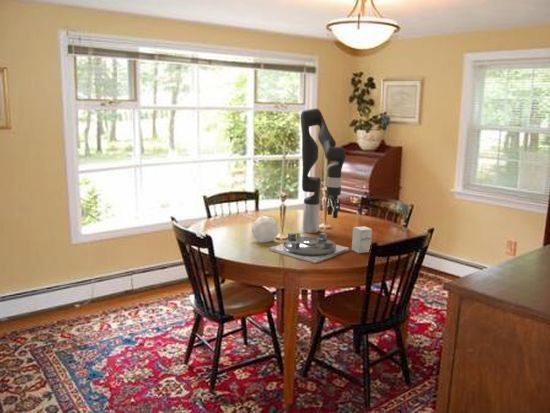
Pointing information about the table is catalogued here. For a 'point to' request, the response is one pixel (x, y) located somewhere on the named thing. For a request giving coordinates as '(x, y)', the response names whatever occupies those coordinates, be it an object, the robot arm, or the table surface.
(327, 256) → the base plate
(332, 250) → the grey flat round piece
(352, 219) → the table surface
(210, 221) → the table surface
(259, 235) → the white ball
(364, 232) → the supplement box
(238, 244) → the table surface
